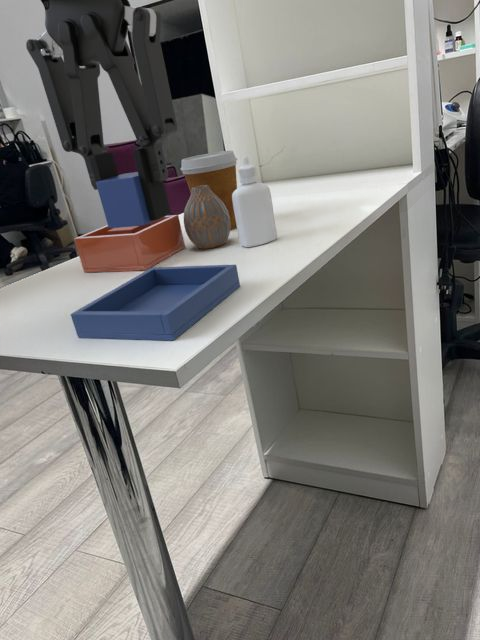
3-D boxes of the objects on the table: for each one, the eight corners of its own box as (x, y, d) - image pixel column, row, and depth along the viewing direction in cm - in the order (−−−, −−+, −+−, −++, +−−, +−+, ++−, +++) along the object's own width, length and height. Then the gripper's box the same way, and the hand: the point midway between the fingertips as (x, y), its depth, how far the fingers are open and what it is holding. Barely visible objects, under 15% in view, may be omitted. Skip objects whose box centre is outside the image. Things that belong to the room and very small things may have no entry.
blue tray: (77, 337, 55) (70, 314, 54) (156, 287, 67) (151, 267, 66) (173, 340, 50) (167, 314, 49) (240, 286, 62) (236, 264, 61)
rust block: (115, 260, 81) (106, 231, 79) (132, 252, 84) (125, 223, 83) (139, 259, 79) (131, 229, 77) (156, 250, 83) (149, 221, 81)
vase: (231, 236, 86) (220, 179, 82) (236, 245, 80) (225, 184, 76) (188, 244, 85) (176, 188, 82) (190, 254, 79) (177, 194, 76)
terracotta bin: (84, 272, 80) (73, 238, 78) (128, 250, 89) (120, 219, 87) (145, 270, 75) (136, 234, 73) (185, 247, 84) (178, 214, 82)
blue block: (108, 228, 54) (95, 182, 52) (134, 217, 57) (123, 173, 55) (145, 225, 52) (133, 177, 50) (170, 214, 55) (159, 168, 53)
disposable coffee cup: (182, 235, 93) (166, 163, 88) (217, 221, 99) (204, 153, 94) (225, 235, 87) (210, 158, 82) (259, 220, 94) (247, 148, 89)
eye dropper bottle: (239, 242, 81) (224, 159, 76) (276, 236, 81) (264, 152, 76) (240, 249, 77) (225, 162, 72) (279, 242, 77) (266, 154, 72)
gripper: (179, -86, 44) (232, 203, 54) (24, -29, 51) (95, 216, 61) (124, -109, 38) (195, 221, 48) (-43, -40, 45) (48, 234, 55)
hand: (139, 218), depth 54 cm, fingers closed on blue block, 4 cm apart
